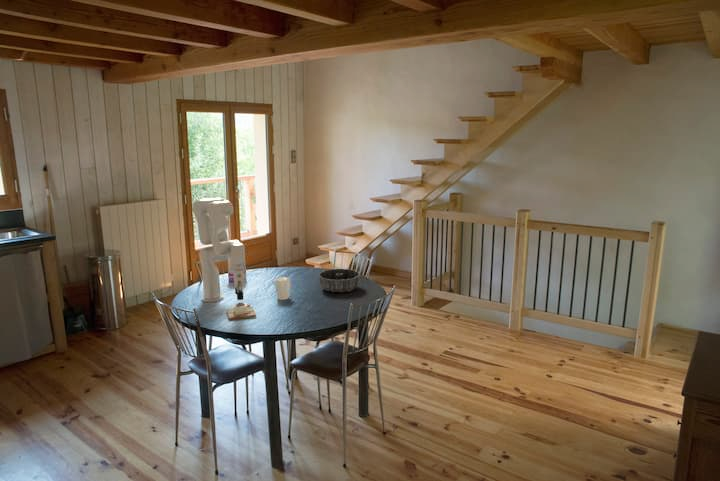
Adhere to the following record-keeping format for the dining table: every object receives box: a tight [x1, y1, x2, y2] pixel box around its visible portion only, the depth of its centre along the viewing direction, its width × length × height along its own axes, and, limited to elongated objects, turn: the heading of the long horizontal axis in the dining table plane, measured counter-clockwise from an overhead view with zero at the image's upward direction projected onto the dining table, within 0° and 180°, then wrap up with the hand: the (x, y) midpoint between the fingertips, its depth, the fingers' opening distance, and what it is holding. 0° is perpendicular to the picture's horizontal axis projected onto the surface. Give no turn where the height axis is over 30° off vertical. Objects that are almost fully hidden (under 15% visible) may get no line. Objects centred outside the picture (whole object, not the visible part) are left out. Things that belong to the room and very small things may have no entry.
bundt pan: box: [317, 268, 361, 293], centre depth 315 cm, size 26×26×10 cm
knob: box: [233, 302, 251, 315], centre depth 270 cm, size 8×6×4 cm
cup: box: [274, 276, 291, 301], centre depth 297 cm, size 9×9×12 cm
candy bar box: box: [226, 257, 247, 284], centre depth 332 cm, size 11×5×16 cm, turn 73°
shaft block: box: [226, 301, 257, 321], centre depth 269 cm, size 14×14×6 cm
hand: (239, 296), depth 269 cm, fingers open, 9 cm apart
